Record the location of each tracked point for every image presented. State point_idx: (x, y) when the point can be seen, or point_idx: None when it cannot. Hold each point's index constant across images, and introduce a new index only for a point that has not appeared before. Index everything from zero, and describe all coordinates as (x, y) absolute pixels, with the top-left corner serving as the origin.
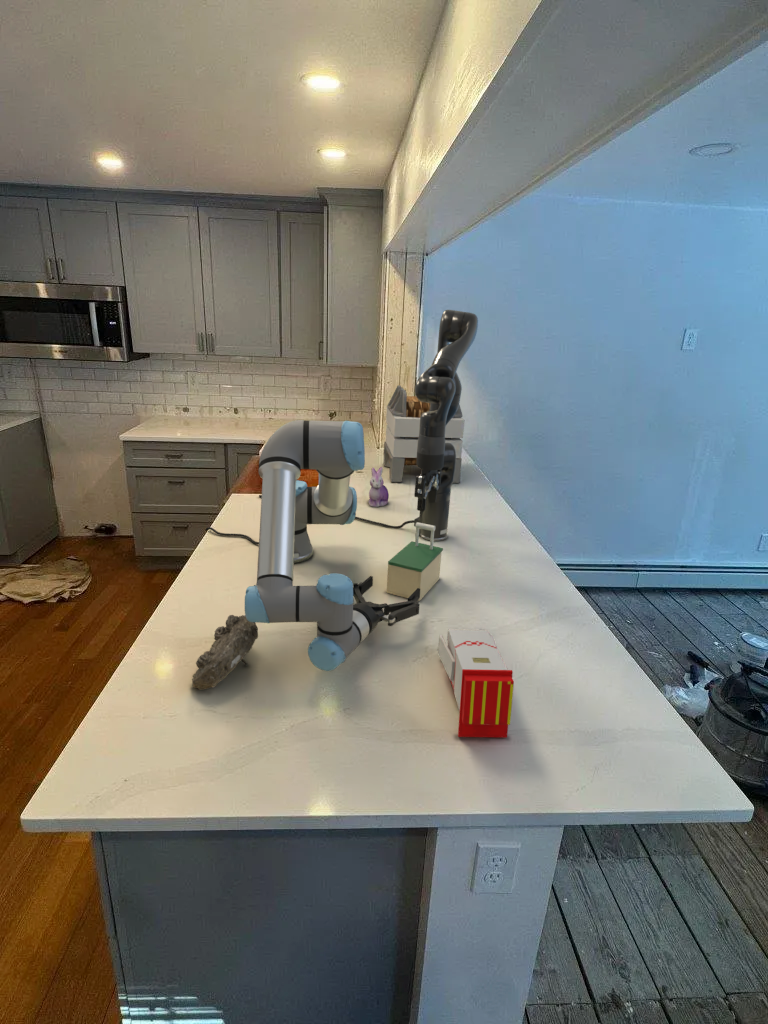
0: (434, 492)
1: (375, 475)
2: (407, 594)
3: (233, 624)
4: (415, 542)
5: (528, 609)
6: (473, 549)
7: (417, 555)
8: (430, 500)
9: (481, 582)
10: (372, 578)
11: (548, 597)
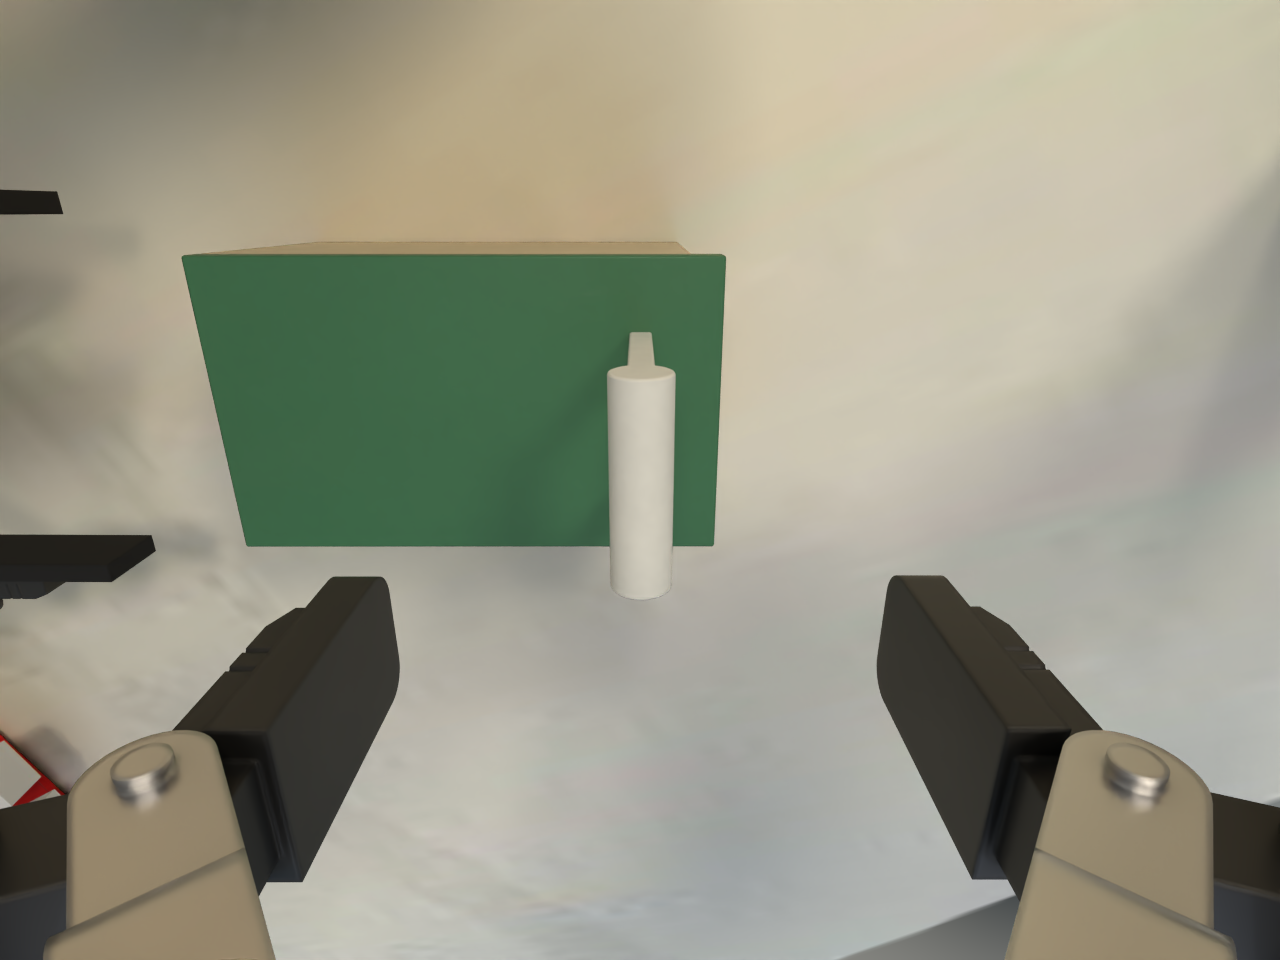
0: (962, 813)
1: None
2: None
3: None
4: (629, 340)
5: (587, 870)
6: (1210, 502)
7: (452, 428)
8: (899, 621)
9: (748, 659)
10: (6, 213)
11: (740, 910)
